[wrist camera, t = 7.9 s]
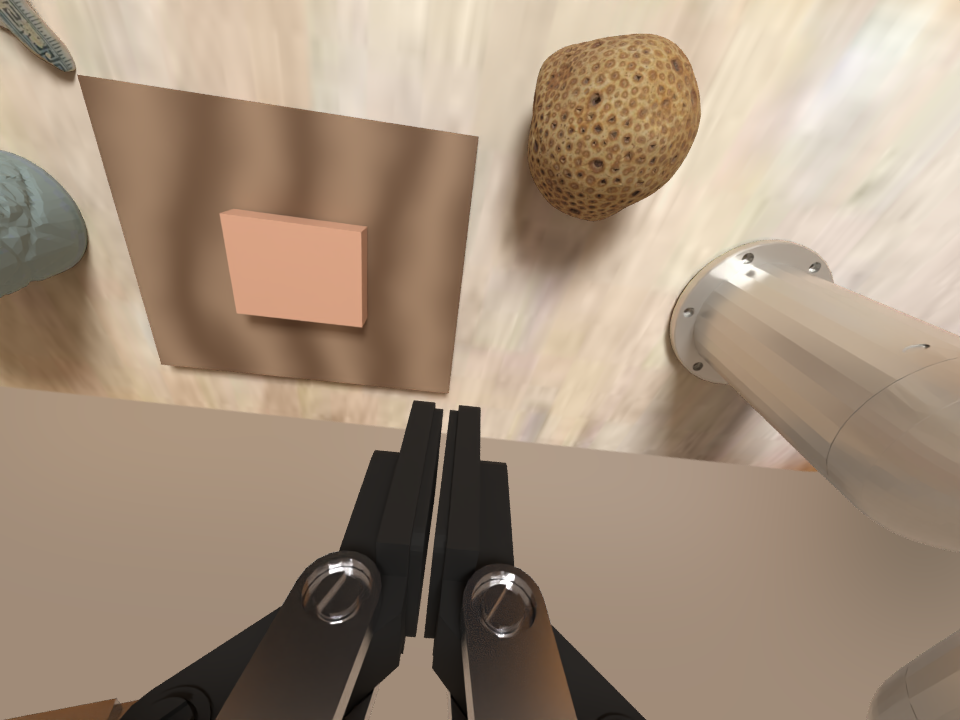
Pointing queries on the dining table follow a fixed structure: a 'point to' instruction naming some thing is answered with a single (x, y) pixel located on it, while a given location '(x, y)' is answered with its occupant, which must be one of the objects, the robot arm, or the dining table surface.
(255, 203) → the board
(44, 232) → the grey green cup
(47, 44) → the ceramic fragment
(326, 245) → the tile
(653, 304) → the dining table surface
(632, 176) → the natural sponge
